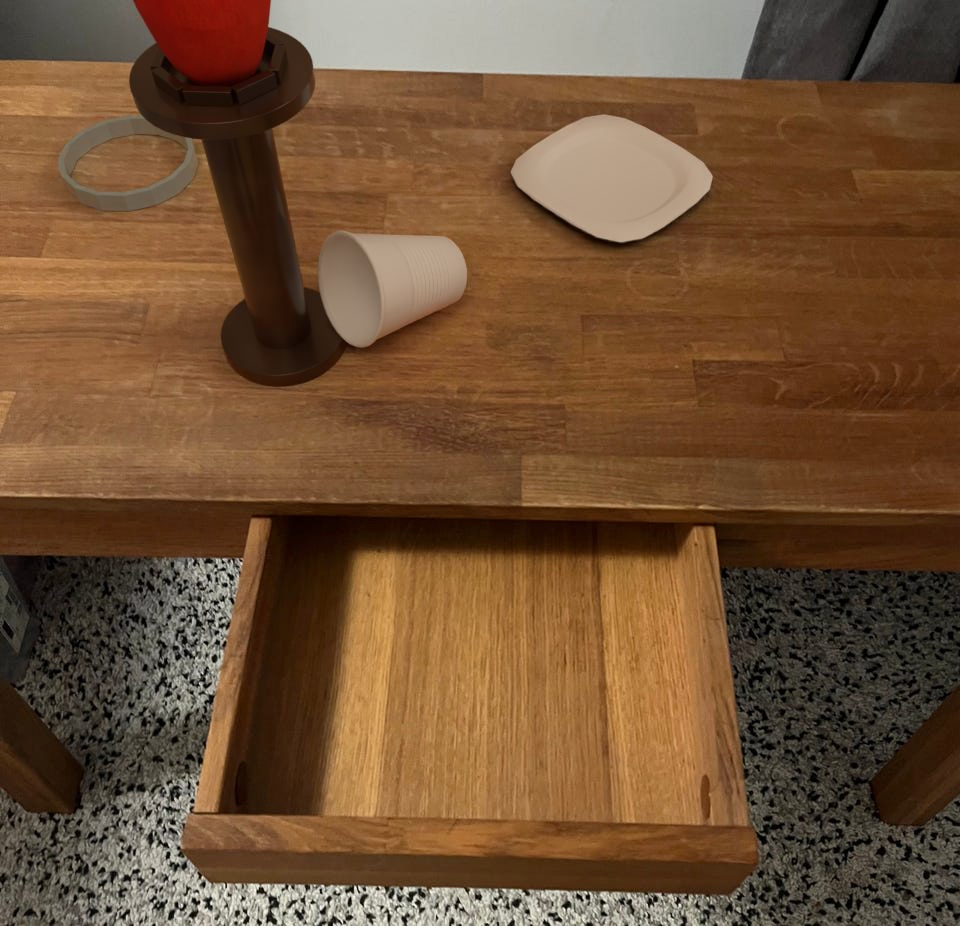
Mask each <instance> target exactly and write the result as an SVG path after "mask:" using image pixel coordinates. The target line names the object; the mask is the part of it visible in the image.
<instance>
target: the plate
mask: <svg viewBox="0 0 960 926" xmlns="http://www.w3.org/2000/svg"><path fill="white" fill-rule="evenodd" d="M510 176H511V177H512V180H513V181H514V184H515V185H516V187H517V189H519V190H520V191H521V192H522V193H524V194H525V195H526V196H527V197H528V198H530V200H532V201H533V202H535V203H536V204H537V205H538V206H540V207H542V208H544V209H545V210H547V211H548V212H550V213H551V214H552V215H554V216H556V217H558V219H561V220H562V221H564V222H566V223H567V224H569V225H570V226H571V227H573V228H575V229H577V230H579V231H581V232H583V233H585V234H587V235H589V236H591V237H593V238H595V239H597V240H601V241H605V242H609V243H610V242H611V243H615V244H621V245H622V244H626V243H632V242H637V241H643V240H645V239H646V238H648V237H650V236H653V235H654V234H656V233H657V232H659V231H661V230H663V229H665V228H666V227H667V226H669V225H670V224H671V223H673V222H675V221H676V220H677V219H678V218H680V217H681V216H682V215H683V214H685V213H687V212H688V211H689V210H691V209H692V208H694V206H696V205H697V204H698V203H699V202H700V201H701V200H702V199H703V198H704V197H705V196H706V195H707V194H708V193H709V192H710V190H711V186H712V182H713V177H714V176H713V174H712V172H711V171H710V169H709V168H708V166H707V165H706V163H704V162H703V161H702V160H701V159H699V158H698V157H696V156H695V155H694V154H692V153H691V152H690V151H689V150H686V148H683V147H682V146H680V145H679V144H676V143H675V142H673V141H671V140H670V139H668V138H666V137H665V136H662V135H660V134H658V133H657V132H656V131H653V130H652V129H649V128H648V127H645V126H643V125H641V124H639V123H637V122H635V121H632V120H630V119H627V118H626V117H621V116H615V115H609V114H597V115H591V116H585V117H583V118H580V119H578V120H575V121H574V122H572V123H569V124H567V125H565V126H563V127H562V128H560V129H558V130H556V131H555V132H553V133H552V134H550V135H548V136H546V137H545V138H544V139H542V140H541V141H540V140H539V142H537V143H535V144H534V145H533V146H531V147H529V148H528V149H527V150H526V151H525V152H523V153H522V154H521V155H519V157H517V158H516V159H515V161H514V164H513V166H512V168H511V170H510Z"/></svg>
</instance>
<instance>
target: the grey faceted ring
mask: <svg viewBox="0 0 960 926" xmlns="http://www.w3.org/2000/svg"><path fill="white" fill-rule="evenodd" d="M133 135H149V136H150V135H151V136H152V135H153V136H154V135H155V136H156V135H157V136H160V137H163V138H167V139H169V140H172V141H176V142H177V143H178V144H180V145H181V146H182V147H183V148H185V150H187V151H186V154H185V157H184V160H183V162H182V163H181V164H180V165H179V166H178V167H177V168H176V169H175V170H174V171H173V172H172V173H171V174H170V175H169V176H167V177H165V178H163V179H160V180H159V181H157V182H155V183H153V184H150V185H148V186H144V187H140V188H135V189H130V190H126V191H110V190H109V191H107V190H103V191H102V190H96V189H93V188H90V187H88V186H84V185H81V184H78V182H76V181H75V180H74V179H73V178H72V177H71V175H72V173H73V171H74V168H75V167H76V164H77V162H78V161H79V160H80V159H81V158H82V157H83V156H85V154H86V153H88V152H89V151H90V150H91V149H93V148H95V147H97V146H100V145H102V144H105V143H106V142H108V141H110V140H112V139H118V138H123V137H128V136H133ZM57 164H58V170H59V175H60V177H61V180H62V182H63V184H64V186H65V189H66V191H67V192H68V193H69V194H70V195H71V196H72V197H73V198H74V199H75V200H76V201H78V202H79V203H80V204H81V205H83V206H87V207H90V208H93V209H97V210H99V211H102V212H133V211H137V210H141V209H147V208H150V207H151V208H152V207H154V206H158V205H160V204H161V203H163V202H165V201H168V200H169V199H171V198H174V197H175V196H177V195H179V194H180V193H181V192H183V190H184V189H185V188H186V187H187V186H189V184H190V183H191V182H192V181H193V180H194V179H195V175H196V173H197V169H198V167H199V160H198V156H197V153H196V149H195V146H194V143H193V140H192V138H186V137H181V136H177V135H174V134H171V133H168V132H165V131H163V130H161V129H159V128H157V127H155V126H154V125H152V124H151V123H149V122H148V121H147V120H146V119H145V118H144V117H143V116H142V115H139V114H138V115H136V114H135V115H134V114H128V115H124V116H119V117H114V118H108V119H104V120H101V121H100V122H97V123H95V124H92V125H90V126H88V127H87V128H83V129H81V130H80V131H78V132H77V134H75V135H74V136H73V137H72V138H71V139H69V140H68V141H67V142H65V143H64V145H63V148H62V149H61V152H60V154H59V155H58V158H57Z"/></svg>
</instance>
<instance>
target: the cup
mask: <svg viewBox="0 0 960 926" xmlns="http://www.w3.org/2000/svg"><path fill="white" fill-rule="evenodd" d="M318 255H319V256H318V260H317V282H318V285H317V286H318V289H319V290H318V291H319V292H320V296H321V299H322V303H323V306H324V309H325V311H326V314H327V316H328V318H329V320H330V322H331V324H332V326H333V327H334V329H335V330H336V332H337V333H338V334H339V335H340V336H341V337H342V338H343V339H344V340H345V341H346V344H349V345H351V346H353V347H355V348H362V349H363V348H366V347H367V348H368V347H370V346H371V345H372V344H374V343H375V342H376V341H377V340H379V339H381V338H383V337H386V336H387V335H389V334H392V333H393V332H396V331H398V330H400V329H402V328H404V327H406V326H408V325H410V324H412V323H414V322H417V321H418V320H421V319H422V318H425V317H427V316H429V315H431V314H433V313H435V312H438V311H440V310H442V309H444V308H447V307H449V306H451V305H453V304H455V303H457V302H459V300H460V299H461V298H462V297H463V295H464V293H465V291H466V287H467V283H468V269H467V268H468V267H467V263H466V260H465V257H464V255H463V252H462V251H461V248H460V247H458V245H457V244H456V243H455V242H454V241H453V240H452V239H451V238H450V237H449V238H448V237H447V236H444V235H425V234H424V235H419V234H418V235H416V234H415V235H414V234H413V235H412V234H384V233H383V234H381V233H357V232H356V233H353V232H350V231H346V230H336V231H334V232H331V233H330V234H329V235H328V236H327V237H326V238H325V239H324V241H323V243H322V244H321V248H320V250H319V254H318Z"/></svg>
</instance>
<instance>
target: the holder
mask: <svg viewBox="0 0 960 926" xmlns="http://www.w3.org/2000/svg"><path fill="white" fill-rule="evenodd" d="M128 78H129V79H128V83H129V89H130V92H131V95H132V99H133V101H134V105H135V106H136V109H137V111H138V112H139V114H140V116H143V117H144V118H145V119H146V120H147V121H148V122H149V123H151V124H152V125H154V126H155V127H157V128H159V129H161V130H163V131H165V132H168V133H171V134H174V135H177V136H181V137H186V138H191V140H192V139H193V140H201V144H202V147H203V151H204V154H205V159H206V161H207V166H208V169H209V173H210V176H211V180H212V183H213V187H214V191H215V194H216V198H217V202H218V205H219V209H220V213H221V216H222V219H223V223H224V227H225V230H226V231H225V232H226V234H227V238H228V241H229V245H230V249H231V253H232V256H233V260H234V263H235V267H236V270H237V274H238V278H239V282H240V286H241V289H242V292H243V295H244V299H242V300H240V301H239V302H238V303H237V304H235V306H233V308H231V310H230V311H229V312H228V313H227V315H226V316H225V318H224V320H223V323H222V325H221V330H220V343H221V346H222V350H223V353H224V356H225V358H226V362H227V363H228V365H229V366H230V367H231V368H232V370H234V372H235V373H236V374H238V375H239V376H241V377H242V378H244V379H245V380H248V381H250V382H252V383H255V384H258V385H260V386H261V385H262V386H266V387H267V386H268V387H289V386H290V387H291V386H296V385H301V384H303V383H307V382H310V381H312V380H314V379H316V378H319V377H320V376H322V375H324V374H325V373H326V372H327V371H329V370H330V369H332V367H333V366H334V365H335V364H336V363H337V362H338V361H339V360H340V358H341V356H342V355H343V353H344V351H345V349H346V344H347V342H346V341H345V340H344V339H343V338H342V337H341V336H340V335H339V334H338V333H337V332H336V330H335V329H334V327H333V326H332V324H331V322H330V320H329V318H328V316H327V314H326V311H325V309H324V306H323V303H322V299H321V296H320V291H319V290H315V289H312V288H309V287H305V285H304V282H303V276H302V272H301V266H300V261H299V257H298V251H297V246H296V242H295V237H294V236H295V235H294V231H293V226H292V220H291V216H290V209H289V207H288V201H287V196H286V190H285V185H284V180H283V175H282V170H281V166H280V161H279V160H280V159H279V155H278V150H277V145H276V140H275V135H274V128H277V127H279V126H281V125H283V124H284V123H287V122H288V121H290V120H292V118H294V117H295V116H297V115H298V114H299V113H300V112H301V111H302V110H303V109H304V108H305V107H306V106H307V105H308V104H309V102H310V100H311V98H312V97H313V95H314V91H315V88H316V76H315V68H314V62H313V58H312V55H311V53H310V51H309V50H308V49H307V47H305V45H304V44H303V43H302V42H301V41H299V40H298V39H297V38H296V37H294V36H292V35H291V34H289V33H287V32H284V31H282V30H279V29H277V28H273V27H270V26H268V30H267V35H266V41H265V46H264V50H263V55H262V59H261V63H260V65H259V67H258V69H257V70H256V72H255V74H253V75H252V76H250V77H249V78H247V79H246V80H243V81H241V82H239V83H236V84H234V85H229V86H199V85H195V84H194V83H192V82H191V81H190V80H189V79H187V78H186V77H185V76H184V75H182V74H181V73H180V72H179V71H178V70H177V69H176V68H175V67H174V66H173V65H172V64H171V62H170V61H169V60H168V59H167V57H166V56H165V55H164V54H163V53H162V51H161V50H160V48H159V46H158V45H157V43H156V42H155V43H153V44H152V45H150V46H149V47H148V48H147V49H145V50H144V51H143V52H142V53H141V54H140V55H139V56H138V58H137V59H136V60H135V61H134V63H133V65H132V67H131V69H130V72H129V77H128Z"/></svg>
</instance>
